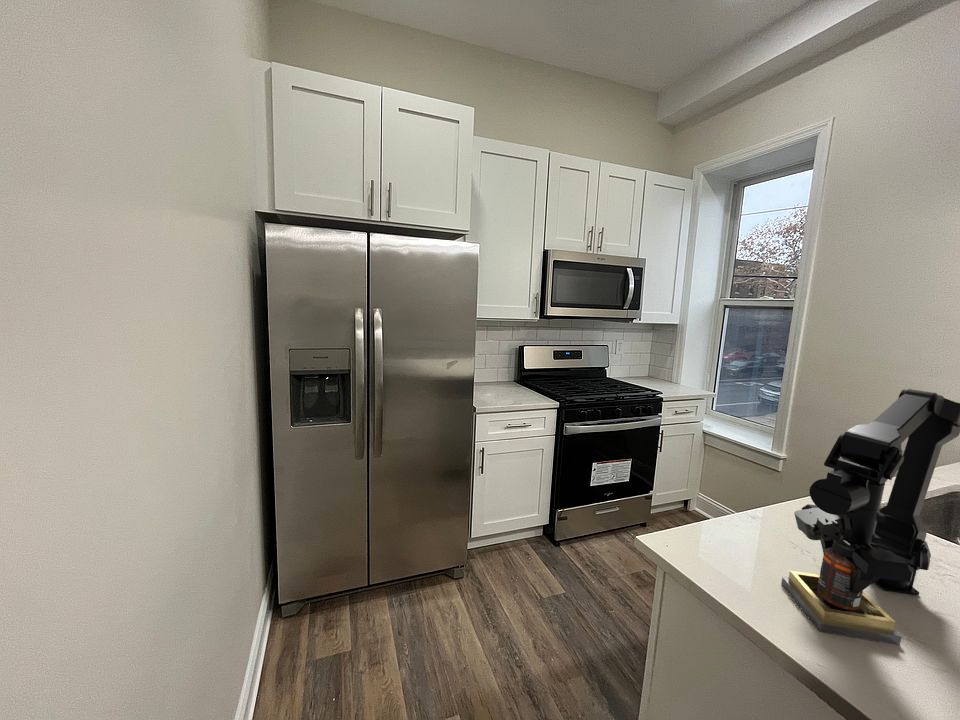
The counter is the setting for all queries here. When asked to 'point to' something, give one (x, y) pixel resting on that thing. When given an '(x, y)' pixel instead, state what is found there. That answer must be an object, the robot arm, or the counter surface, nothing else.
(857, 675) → the counter surface
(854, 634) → the gold-rimmed square tray
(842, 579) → the supplement bottle
